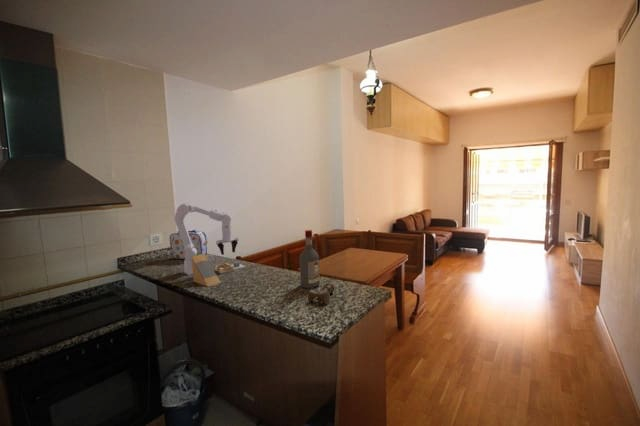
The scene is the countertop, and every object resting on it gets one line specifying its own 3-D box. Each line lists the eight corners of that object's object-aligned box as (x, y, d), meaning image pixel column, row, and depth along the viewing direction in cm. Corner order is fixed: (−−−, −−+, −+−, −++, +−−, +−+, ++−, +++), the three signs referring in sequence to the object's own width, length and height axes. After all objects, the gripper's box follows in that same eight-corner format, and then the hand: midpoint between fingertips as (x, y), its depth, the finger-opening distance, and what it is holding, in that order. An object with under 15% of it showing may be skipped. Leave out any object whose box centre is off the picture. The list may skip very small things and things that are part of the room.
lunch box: (211, 257, 234) (209, 228, 232) (203, 260, 224) (201, 230, 222) (178, 256, 239) (175, 228, 236) (169, 260, 229) (166, 230, 226)
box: (215, 270, 199) (215, 265, 199) (227, 267, 204) (226, 263, 204) (222, 273, 192) (221, 268, 191) (234, 271, 197) (233, 266, 197)
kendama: (339, 294, 155) (322, 309, 137) (321, 292, 159) (303, 306, 141) (338, 282, 154) (322, 296, 136) (321, 281, 159) (302, 293, 140)
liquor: (298, 286, 167) (296, 231, 163) (308, 281, 174) (307, 228, 170) (311, 289, 161) (309, 232, 158) (321, 284, 168) (320, 230, 165)
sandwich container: (207, 287, 169) (205, 260, 168) (193, 281, 179) (191, 256, 177) (221, 282, 176) (219, 257, 174) (206, 277, 186) (204, 253, 184)
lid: (228, 267, 208) (227, 262, 208) (239, 264, 213) (238, 260, 213) (234, 270, 201) (234, 265, 200) (245, 267, 206) (245, 262, 205)
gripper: (218, 235, 192) (220, 256, 193) (240, 231, 201) (241, 252, 203) (214, 233, 197) (215, 254, 198) (235, 230, 206) (236, 250, 208)
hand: (228, 253), depth 201 cm, fingers open, 7 cm apart
